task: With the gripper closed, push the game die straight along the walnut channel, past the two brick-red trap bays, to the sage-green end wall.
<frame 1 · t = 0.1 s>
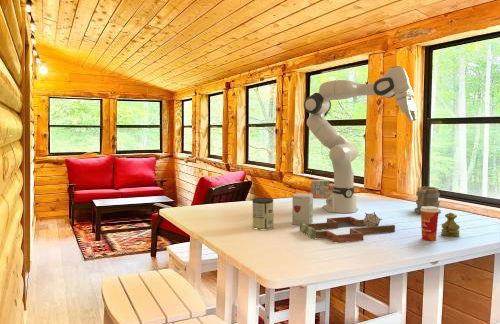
hand: (412, 120, 221), 52 cm above the table, tool tilted 20°, fingers open, 8 cm apart
gold metal turned piece: (450, 235, 191), on the table
paper cup: (428, 239, 185), on the table
coffee can: (263, 228, 208), on the table
supplement box: (302, 223, 216), on the table
trap channel: (342, 231, 199), on the table
tankard: (424, 213, 238), on the table
game die: (371, 229, 203), on the table
stack of blocks: (326, 198, 291), on the table
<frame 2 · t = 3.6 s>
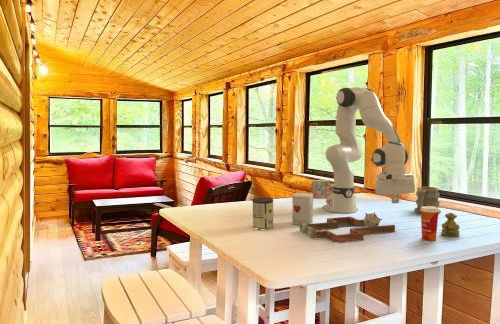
hand: (395, 203, 205), 12 cm above the table, tool pointing down, fingers closed
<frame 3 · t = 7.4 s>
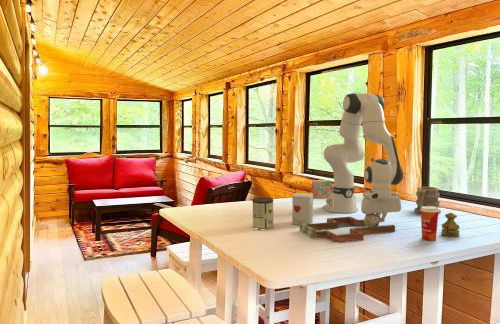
hand: (381, 221, 204), 3 cm above the table, tool pointing down, fingers closed
game die: (371, 229, 203), on the table, touching gripper
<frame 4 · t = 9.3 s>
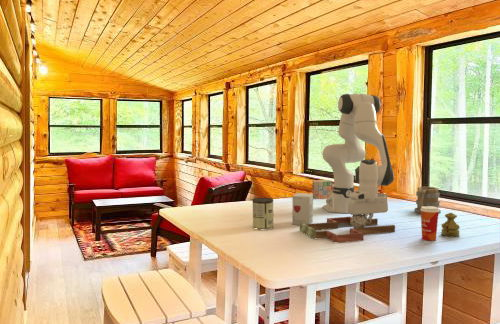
hand: (367, 222, 202), 3 cm above the table, tool pointing down, fingers closed
game die: (358, 230, 201), on the table, touching gripper
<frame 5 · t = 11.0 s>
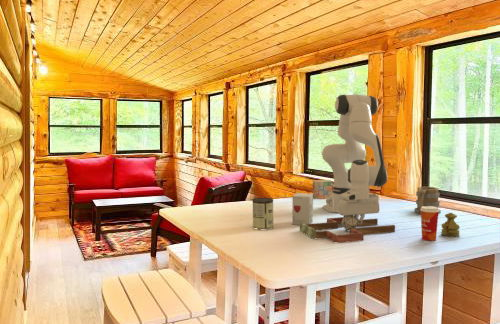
hand: (359, 223, 200), 3 cm above the table, tool pointing down, fingers closed
game die: (349, 230, 200), on the table, touching gripper
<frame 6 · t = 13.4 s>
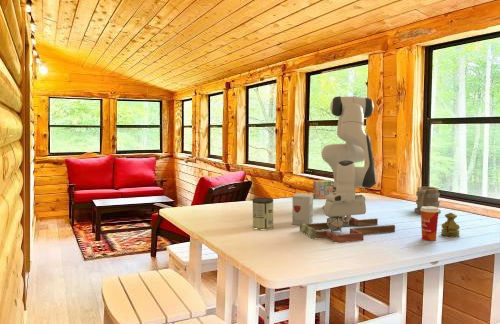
hand: (345, 224, 198), 3 cm above the table, tool pointing down, fingers closed
game die: (335, 231, 198), on the table, touching gripper
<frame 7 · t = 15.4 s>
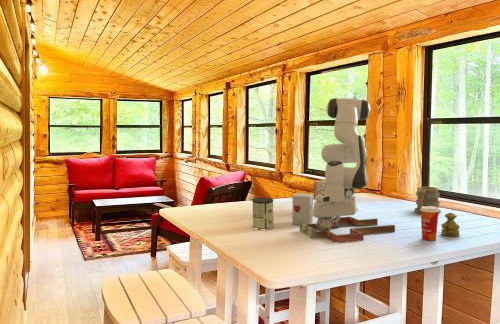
hand: (334, 225, 197), 3 cm above the table, tool pointing down, fingers closed
game die: (324, 232, 197), on the table, touching gripper
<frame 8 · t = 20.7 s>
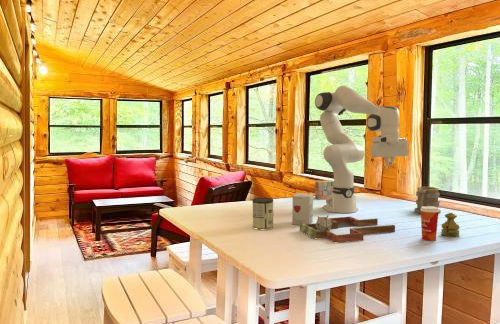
hand: (389, 165, 215), 29 cm above the table, tool pointing down, fingers closed
game die: (323, 233, 197), on the table
at the end: game die inside the target area on the trap channel (2.7 cm from its centre), point 0.0 cm above the trap channel's base; game die tilted 0°; game die moved 24.9 cm from its start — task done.
